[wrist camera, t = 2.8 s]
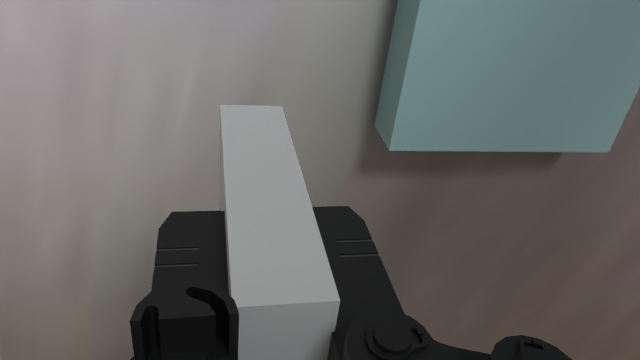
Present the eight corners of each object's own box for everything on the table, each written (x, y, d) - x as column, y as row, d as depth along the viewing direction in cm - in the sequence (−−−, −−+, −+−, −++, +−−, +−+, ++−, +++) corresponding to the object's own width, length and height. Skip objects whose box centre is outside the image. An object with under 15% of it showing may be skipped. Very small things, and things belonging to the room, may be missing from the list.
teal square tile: (412, -97, 21) (439, -89, 19) (656, -69, 23) (708, -58, 21) (372, 121, 26) (388, 150, 24) (574, 125, 29) (608, 152, 26)
